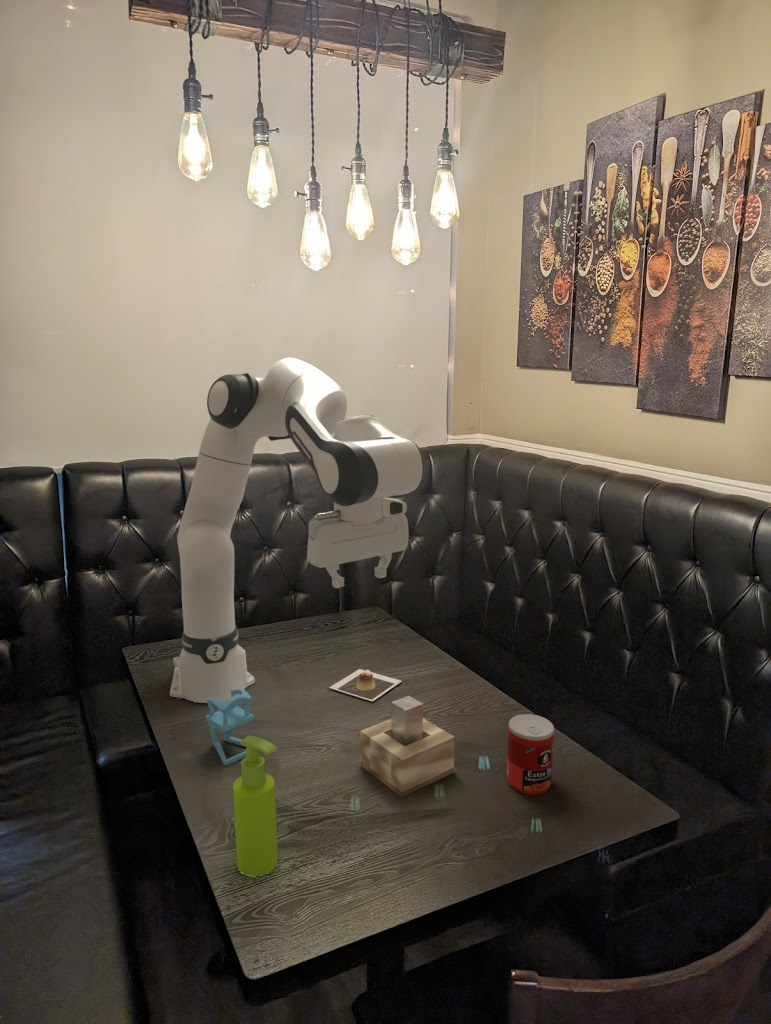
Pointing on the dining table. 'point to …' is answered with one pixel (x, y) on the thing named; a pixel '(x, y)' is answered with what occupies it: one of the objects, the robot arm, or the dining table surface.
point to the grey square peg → (406, 720)
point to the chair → (229, 720)
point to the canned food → (530, 753)
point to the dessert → (365, 682)
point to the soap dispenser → (255, 811)
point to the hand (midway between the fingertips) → (359, 581)
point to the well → (407, 757)
